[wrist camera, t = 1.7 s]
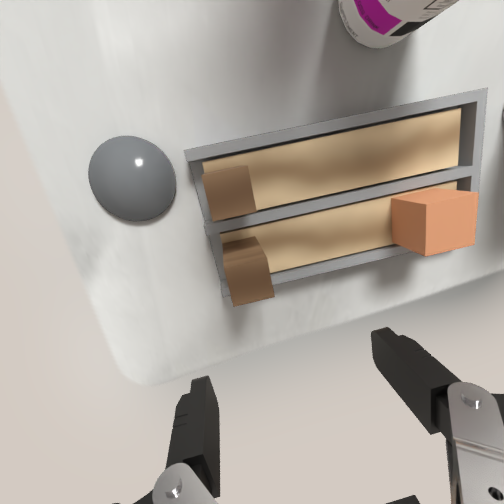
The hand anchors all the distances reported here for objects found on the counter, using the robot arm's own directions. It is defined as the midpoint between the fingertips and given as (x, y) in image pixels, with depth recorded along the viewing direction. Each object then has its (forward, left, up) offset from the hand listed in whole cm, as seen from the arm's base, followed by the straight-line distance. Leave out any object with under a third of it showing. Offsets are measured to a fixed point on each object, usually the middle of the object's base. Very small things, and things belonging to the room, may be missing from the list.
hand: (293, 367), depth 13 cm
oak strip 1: (-7, +10, -19) cm, 22 cm away
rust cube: (0, +18, -16) cm, 25 cm away
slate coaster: (-10, -10, -19) cm, 23 cm away
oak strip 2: (0, +10, -19) cm, 21 cm away
